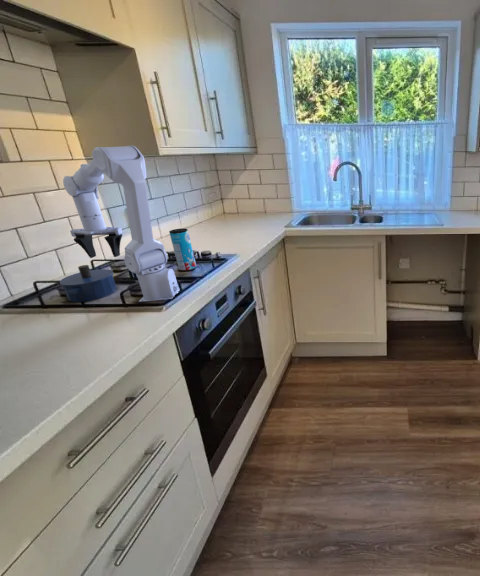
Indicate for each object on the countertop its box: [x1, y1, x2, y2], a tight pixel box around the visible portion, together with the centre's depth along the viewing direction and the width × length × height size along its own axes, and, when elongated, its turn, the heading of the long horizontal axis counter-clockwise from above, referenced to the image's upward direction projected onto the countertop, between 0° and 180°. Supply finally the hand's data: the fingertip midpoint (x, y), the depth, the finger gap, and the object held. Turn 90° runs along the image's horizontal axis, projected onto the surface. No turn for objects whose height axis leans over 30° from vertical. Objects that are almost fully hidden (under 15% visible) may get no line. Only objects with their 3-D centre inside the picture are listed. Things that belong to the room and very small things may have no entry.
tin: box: [62, 274, 118, 303], centre depth 116 cm, size 13×18×5 cm
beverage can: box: [168, 228, 197, 272], centre depth 133 cm, size 6×6×15 cm
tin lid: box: [59, 264, 114, 287], centre depth 114 cm, size 14×14×5 cm
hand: (105, 256), depth 119 cm, fingers open, 7 cm apart
